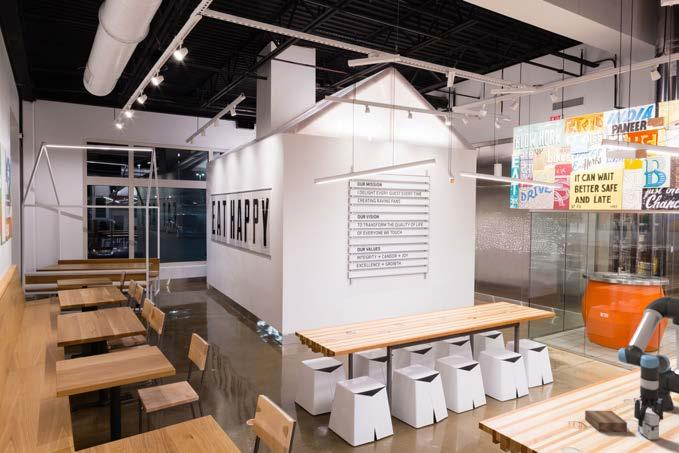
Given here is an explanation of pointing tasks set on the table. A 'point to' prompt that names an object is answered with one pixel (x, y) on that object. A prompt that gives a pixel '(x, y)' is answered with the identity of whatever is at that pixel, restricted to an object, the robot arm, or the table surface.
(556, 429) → the table surface
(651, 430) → the ink box
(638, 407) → the robot arm
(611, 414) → the walnut pedestal
